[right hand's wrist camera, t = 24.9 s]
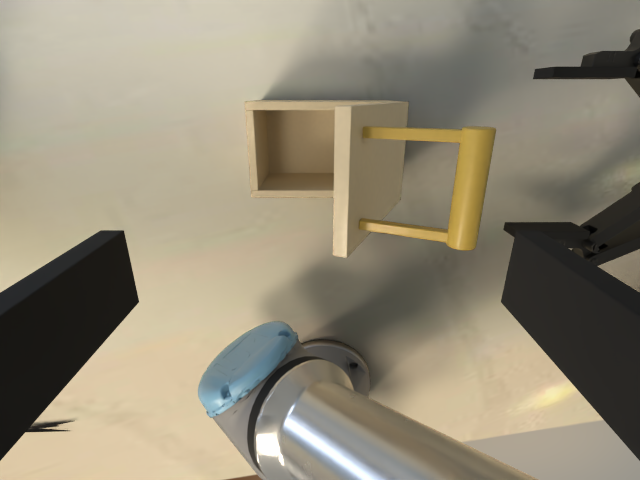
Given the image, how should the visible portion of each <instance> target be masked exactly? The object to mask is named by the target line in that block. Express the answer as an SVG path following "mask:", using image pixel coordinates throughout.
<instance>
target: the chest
mask: <svg viewBox="0 0 640 480" xmlns="http://www.w3.org/2000/svg"><path fill="white" fill-rule="evenodd" d="M386 102H401V101H389V100H256V101H245V115H246V129H247V143H248V157H249V171H250V185H251V197H252V198H334V138H335V106H342V105H357V104H371V103H386Z"/></svg>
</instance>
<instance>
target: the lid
mask: <svg viewBox="0 0 640 480" xmlns="http://www.w3.org/2000/svg"><path fill="white" fill-rule="evenodd" d="M408 107H409V102H386V103H371V104H357V105H342V106H335V138H334V207H333V256H338V257H344V258H347V257H348V256H349V255H350V254H351V253H352V252H353V251H354V250H355V249H356V247H357V246H358V245H359V244H360V243H361V242H362V241H363V240H364V239H365V238H366V237H367V236H368V234H369V233H370V232H371V231H373V232H379V233H386V234H393V235H399V236H406V237H413V238H419V239H426V240H433V241H440V242H446V244H447V245H448V246H449V247H451V248H453V249H457V250H473V249H475V247H476V243H477V238H478V232H479V226H480V220H481V214H482V209H483V203H484V197H485V191H486V185H487V180H488V174H489V168H490V162H491V157H492V151H493V145H494V139H495V133H496V128H492V127H476V126H471V127H463V128H462V129H437V128H408V127H407V119H408ZM406 140H414V141H435V142H456V143H460V146H459V153H458V160H457V167H456V175H455V182H454V189H453V196H452V203H451V211H450V218H449V225H448V230H446V229H439V228H432V227H424V226H417V225H410V224H402V223H395V222H388V221H381V220H382V219H383V218H384V217H385V216H386V215H387V214H388V213H389V212H390V211H391V210H392V208H393V207H394V206H395V205H396V204H397V203H398V202H399V201H400V200H401V190H402V178H403V166H404V154H405V143H406Z"/></svg>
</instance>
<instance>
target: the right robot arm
mask: <svg viewBox="0 0 640 480" xmlns="http://www.w3.org/2000/svg"><path fill="white" fill-rule="evenodd" d="M138 302H139V300H138V295H137V290H136V286H135V281H134V276H133V271H132V267H131V262H130V257H129V253H128V248H127V243H126V239H125V234H124V231H99V232H98V233H96V234H94V235H93V236H91V237H90V238H88V239H86V240H85V241H83V242H82V243H80V244H78V245H77V246H75V247H73V248H72V249H70V250H69V251H67V252H65V253H64V254H62V255H61V256H59V257H57V258H56V259H54V260H53V261H51V262H49V263H48V264H46V265H44V266H43V267H41V268H40V269H38V270H36V271H35V272H33V273H32V274H30V275H28V276H27V277H25V278H23V279H22V280H20V281H19V282H17V283H15V284H14V285H12V286H11V287H9V288H7V289H6V290H4V291H2V292H1V293H0V460H1V459H2V458H3V457H4V456H5V455H6V454H7V452H8V451H9V450H10V449H11V448H12V447H13V445H14V444H15V443H16V442H17V441H18V440H19V439H20V437H21V436H22V435H23V434H24V433H25V432H26V431H27V429H28V428H29V427H30V426H31V425H32V424H33V423H34V421H35V420H36V419H37V418H38V417H39V416H40V415H41V413H42V412H43V411H44V410H45V409H46V408H47V407H48V405H49V404H50V403H51V402H52V401H53V400H54V399H55V397H56V396H57V395H58V394H59V393H60V392H61V391H62V389H63V388H64V387H65V386H66V385H67V384H68V383H69V381H70V380H71V379H72V378H73V377H74V376H75V375H76V373H77V372H78V371H79V370H80V369H81V368H82V367H83V365H84V364H85V363H86V362H87V361H88V360H89V359H90V357H91V356H92V355H93V354H94V353H95V352H96V351H97V349H98V348H99V347H100V346H101V345H102V344H103V343H104V341H105V340H106V339H107V338H108V337H109V336H110V334H111V333H112V332H113V331H114V330H115V329H116V328H117V326H118V325H119V324H120V323H121V322H122V321H123V320H124V318H125V317H126V316H127V315H128V314H129V313H130V312H131V310H132V309H133V308H134V307H135V306H136V305H137V304H138ZM501 302H502V304H503V305H504V306H505V307H506V308H507V309H508V310H509V312H510V313H511V314H512V315H513V316H514V317H515V318H516V320H517V321H518V322H519V323H520V324H521V325H522V326H523V328H524V329H525V330H526V331H527V332H528V333H529V334H530V336H531V337H532V338H533V339H534V340H535V341H536V343H537V344H538V345H539V346H540V347H541V348H542V349H543V351H544V352H545V353H546V354H547V355H548V356H549V357H550V359H551V360H552V361H553V362H554V363H555V364H556V365H557V367H558V368H559V369H560V370H561V371H562V372H563V373H564V375H565V376H566V377H567V378H568V379H569V380H570V381H571V383H572V384H573V385H574V386H575V387H576V388H577V389H578V391H579V392H580V393H581V394H582V395H583V396H584V397H585V399H586V400H587V401H588V402H589V403H590V404H591V405H592V407H593V408H594V409H595V410H596V411H597V412H598V413H599V415H600V416H601V417H602V418H603V419H604V420H605V421H606V423H607V424H608V425H609V426H610V427H611V428H612V429H613V431H614V432H615V433H616V434H617V435H618V436H619V437H620V439H621V440H622V441H623V442H624V443H625V444H626V445H627V447H628V448H629V449H630V450H631V451H632V452H633V453H634V455H635V456H636V457H637V458H638V459H639V460H640V293H639V292H638V291H636V290H634V289H633V288H631V287H629V286H628V285H626V284H625V283H623V282H621V281H620V280H618V279H617V278H615V277H613V276H612V275H610V274H608V273H607V272H605V271H604V270H602V269H600V268H599V267H597V266H596V265H594V264H592V263H591V262H589V261H587V260H586V259H584V258H583V257H581V256H579V255H578V254H576V253H575V252H573V251H571V250H570V249H568V248H567V247H565V246H563V245H562V244H560V243H558V242H557V241H555V240H554V239H552V238H550V237H549V236H547V235H546V234H544V233H542V232H541V231H516V234H515V239H514V243H513V248H512V253H511V257H510V262H509V267H508V271H507V276H506V281H505V285H504V290H503V295H502V300H501Z"/></svg>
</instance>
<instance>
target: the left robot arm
mask: <svg viewBox="0 0 640 480" xmlns="http://www.w3.org/2000/svg"><path fill="white" fill-rule="evenodd" d="M630 43H631V44H630V45H629V47H628V48H627V49H626V50H625V51H600V52H594V53H589V54H586V55H584V56H583V59H582V63H581V67H549V68H541V69H535V72H534V77H533V79H618V78H625V79H626V81H627V82H628V83H629V84H630V86H631V87H632V88H633V90H634V91H635V92H636V93H637V95H638V96H639V97H640V29H638V30H636V31H634V32H633V33H632V35H631V37H630ZM504 230H505V231H506V232H508V233H509V234H510V235H512V236H513V237H515V234H516V231H541V232H542V233H544V234H546V235H547V236H549V237H550V238H552V239H554V240H555V241H557V242H558V243H560V244H562V245H563V246H565V247H567V248H573V249H572V251H573V252H575V253H576V254H578V255H579V256H581V257H583V258H584V259H586V260H587V261H589V262H591V263H592V264H594V265H596V266H598V265H601V264H603V263H606V262H608V261H611V260H613V259H616V258H618V257H621V256H623V255H625V254H628V253H630V252H633V251H635V250H638V249H640V182H639V183H638V184H636V185H635V186H633V187H632V191H631V192H630V193H629V194H627V195H626V196H624V197H623V198H621V199H620V200H618V201H617V202H615V203H614V204H612V205H611V206H609V207H608V208H606V209H605V210H603V211H602V212H600V213H599V214H597V215H596V216H594V217H593V218H591V219H590V220H588V221H587V222H585V223H584V224H582V225H581V226H578V225H576V224H574V223H571V222H505V225H504ZM369 391H370V375H369V370H368V367H367V364H366V362H365V360H364V359H363V357H362V356H361V355H360V354H359V353H358V352H357V351H356V350H354V349H353V348H351V347H350V346H348V345H346V344H343V343H340V342H337V341H331V340H315V341H309V342H306V343H303V344H301V343H300V341H299V340H298V335H297V333H296V332H294V331H293V330H292V329H291V327H290V326H289V325H288V324H286V323H284V322H280V321H274V322H269V323H265V324H262V325H260V326H258V327H255V328H254V329H252V330H250V331H248V332H246V333H245V334H243V335H242V336H240V337H239V338H237V339H236V340H235V341H233V342H232V343H231V344H230V345H228V346H227V347H226V348H225V349H224V350H223V351H222V352H221V353H220V354H219V355H218V356H217V357H216V358H215V359H214V360H213V361H212V363H211V364H210V365H209V366H208V368H207V370H206V371H205V373H204V374H203V376H202V378H201V381H200V383H199V387H198V396H199V399H200V401H201V403H202V404H203V406H204V407H205V409H206V410H207V411H206V413H207V415H208V416H209V417H210V418H213V419H214V420H215V422H216V423H217V424H218V425H219V427H220V428H221V429H222V431H223V432H224V433H225V434H226V436H227V437H228V438H229V439H230V441H231V442H232V443H233V444H234V446H235V447H236V448H237V449H238V451H239V452H240V453H241V454H242V456H243V457H244V458H245V459H246V461H247V462H248V463H249V465H250V466H251V467H252V468H253V470H254V471H255V472H256V473H257V475H258V476H259V477H260V478H261V479H262V480H538V479H536V478H534V477H532V476H530V475H528V474H526V473H524V472H522V471H519V470H517V469H515V468H513V467H511V466H509V465H507V464H505V463H503V462H501V461H499V460H497V459H495V458H493V457H490V456H488V455H486V454H484V453H482V452H480V451H478V450H476V449H474V448H472V447H470V446H468V445H466V444H464V443H461V442H459V441H457V440H455V439H453V438H451V437H449V436H447V435H445V434H443V433H441V432H439V431H437V430H435V429H432V428H430V427H428V426H426V425H424V424H422V423H420V422H418V421H416V420H414V419H412V418H410V417H408V416H406V415H403V414H401V413H399V412H397V411H395V410H393V409H391V408H389V407H387V406H385V405H383V404H381V403H379V402H377V401H374V400H372V399H370V398H368V396H369Z"/></svg>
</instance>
